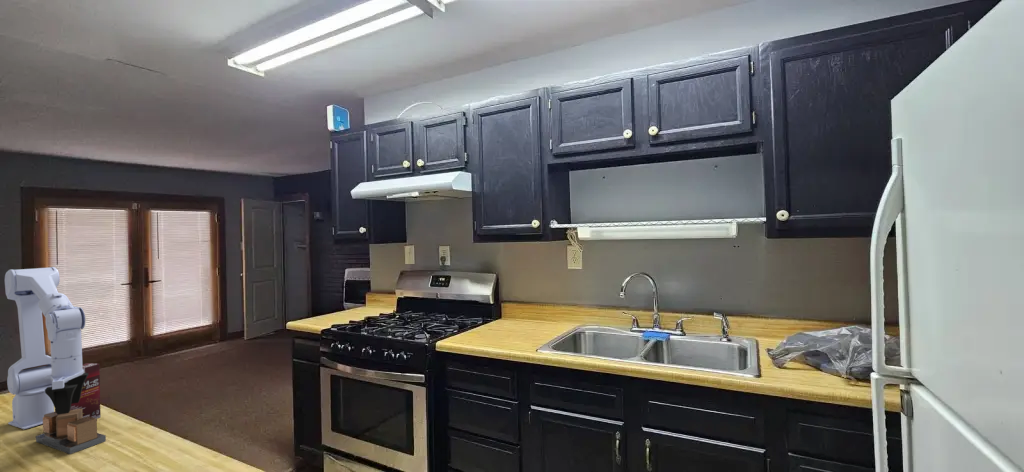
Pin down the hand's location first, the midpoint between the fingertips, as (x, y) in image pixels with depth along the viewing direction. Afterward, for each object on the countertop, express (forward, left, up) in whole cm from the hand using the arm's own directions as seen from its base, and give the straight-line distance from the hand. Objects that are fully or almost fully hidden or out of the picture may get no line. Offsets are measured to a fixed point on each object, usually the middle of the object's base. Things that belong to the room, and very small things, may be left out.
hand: (68, 408), depth 118 cm
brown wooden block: (0, 0, -7) cm, 7 cm away
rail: (0, 0, -9) cm, 9 cm away
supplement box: (-12, +7, -9) cm, 17 cm away
